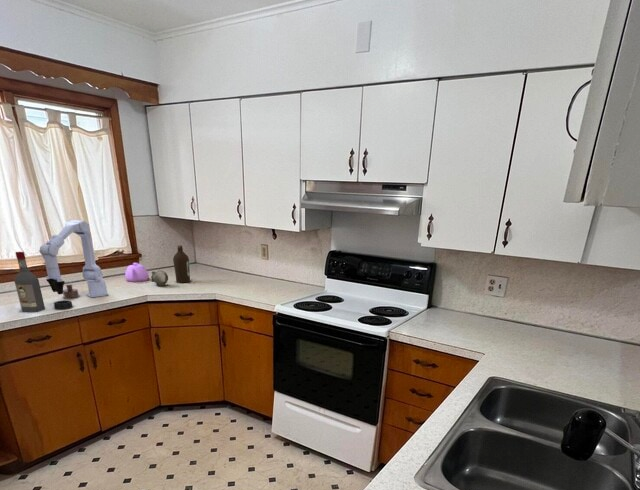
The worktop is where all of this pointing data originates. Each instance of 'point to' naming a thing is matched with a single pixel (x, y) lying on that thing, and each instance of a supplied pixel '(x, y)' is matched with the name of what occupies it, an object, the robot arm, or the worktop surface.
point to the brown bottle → (70, 292)
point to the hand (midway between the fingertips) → (57, 292)
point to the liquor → (28, 287)
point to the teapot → (136, 273)
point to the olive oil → (181, 266)
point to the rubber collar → (63, 305)
